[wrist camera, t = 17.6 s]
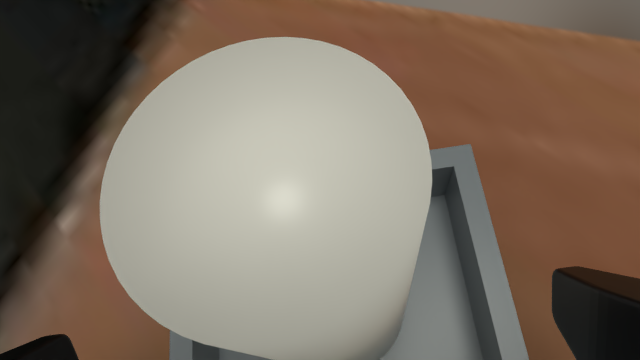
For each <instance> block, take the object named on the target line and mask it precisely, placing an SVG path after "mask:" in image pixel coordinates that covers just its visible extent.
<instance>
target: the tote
mask: <svg viewBox="0 0 640 360" xmlns="http://www.w3.org/2000/svg"><path fill="white" fill-rule="evenodd" d="M429 151H430V156H431V164H432V189H431V199H430V206H429V210H428V214H427V218H426V223H425V227H424V231H423V235H422V240H421V244H420V248H419V253H418V257H417V261H416V265H415V270H414V274H413V278H412V282H411V287H410V291H409V295H408V300H407V304H406V308H405V312H404V317H403V321H402V325H401V329H400V332H399V334H398V337H397V339H396V340H395V342H394V344H393V346H392V347H391V348H390V349H389V351H388V352H387V353H386V354H385V355H384V356H383V357H382V358H381V359H380V360H529V357H528V354H527V350H526V346H525V343H524V339H523V335H522V332H521V328H520V324H519V321H518V317H517V313H516V310H515V306H514V302H513V299H512V295H511V291H510V288H509V284H508V280H507V277H506V273H505V269H504V266H503V262H502V258H501V255H500V251H499V247H498V244H497V240H496V236H495V232H494V229H493V225H492V221H491V218H490V214H489V210H488V207H487V203H486V199H485V196H484V192H483V188H482V185H481V181H480V177H479V174H478V170H477V166H476V163H475V159H474V155H473V152H472V148H471V144H468V145H461V146H455V147H448V148H441V149H435V150H429ZM169 360H272V359H268V358H263V357H259V356H255V355H250V354H246V353H241V352H237V351H232V350H228V349H223V348H219V347H214V346H210V345H206V344H202V343H199V342H197V341H194V340H191V339H188V338H186V337H183V336H181V335H179V334H177V333H175V332H173V331H171V330H170V358H169Z"/></svg>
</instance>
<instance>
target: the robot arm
mask: <svg viewBox="0 0 640 360" xmlns="http://www.w3.org/2000/svg"><path fill="white" fill-rule="evenodd" d="M552 313H553V317H554V320H555V323H556V325H557V327H558V328H559V330H560V332H561V334H562V335H563V337H564V339H565V340H566V342H567V344H568V346H569V347H570V349H571V351H572V353H573V354H574V356H575V358H576V359H577V360H640V279H638V278H633V277H628V276H623V275H619V274H614V273H609V272H604V271H599V270H594V269H589V268H584V267H579V266H578V267H577V266H574V267H566V268H559V269H556V270H555V271H554V272H553V275H552ZM0 360H79V359H78V357H77V354H76V352H75V350H74V347H73V345H72V342H71V340H70V338H69V337H68V336H66V335H64V334H57V335H50V336H44V337H41V338H39V339H36V340H34V341H31V342H29V343H26V344H24V345H22V346H19V347H17V348H14V349H12V350H9V351H7V352H4V353H2V354H0Z"/></svg>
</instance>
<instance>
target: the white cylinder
mask: <svg viewBox="0 0 640 360" xmlns="http://www.w3.org/2000/svg"><path fill="white" fill-rule="evenodd" d="M431 189H432V164H431V156H430V151H429V146H428V140H427V138H426V135H425V132H424V129H423V126H422V123H421V121H420V119H419V117H418V115H417V113H416V111H415V109H414V108H413V106H412V104H411V103H410V101H409V100H408V98H407V97H406V96H405V94H404V93H403V91H402V90H401V89H400V88H399V87H398V86H397V85H396V84H395V83H394V82H393V80H392V79H391V78H390V77H389V76H388V75H387V74H385V73H384V72H383V71H381V70H380V69H379V68H378V67H376V66H375V65H374V64H372V63H371V62H369V61H367V60H366V59H364V58H362V57H361V56H359V55H357V54H355V53H353V52H351V51H348V50H346V49H344V48H341V47H339V46H336V45H332V44H329V43H325V42H322V41H317V40H311V39H305V38H293V37H274V38H262V39H255V40H249V41H244V42H240V43H236V44H233V45H229V46H226V47H223V48H221V49H218V50H215V51H212V52H210V53H208V54H206V55H204V56H202V57H200V58H198V59H196V60H194V61H192V62H190V63H189V64H187V65H185V66H184V67H182V68H181V69H179V70H177V71H176V72H175V73H173V74H172V75H171V76H170V77H168V78H167V79H166V80H164V81H163V82H162V83H161V84H160V85H158V86H157V87H156V88H155V89H154V90H153V91H152V92H151V93H150V94H149V95H148V96H147V97H146V98H145V99H144V101H143V102H142V103H141V104H140V105H139V106H138V108H137V109H136V110H135V111H134V113H133V114H132V115H131V117H130V118H129V120H128V121H127V123H126V124H125V126H124V127H123V129H122V131H121V133H120V135H119V137H118V139H117V140H116V142H115V144H114V147H113V149H112V152H111V154H110V157H109V159H108V162H107V165H106V169H105V173H104V177H103V181H102V188H101V196H100V224H101V231H102V237H103V243H104V246H105V249H106V252H107V256H108V259H109V262H110V264H111V266H112V268H113V270H114V272H115V274H116V276H117V278H118V280H119V281H120V283H121V284H122V286H123V287H124V289H125V290H126V292H127V293H128V294H129V296H130V297H131V298H132V299H133V300H134V301H135V302H136V303H137V304H138V306H139V307H140V308H141V309H142V310H143V311H144V312H145V313H147V314H148V315H149V316H151V317H152V318H153V319H154V320H156V321H157V322H158V323H160V324H161V325H162V326H164V327H166V328H168V329H170V330H171V331H173V332H175V333H177V334H179V335H181V336H183V337H186V338H188V339H191V340H194V341H197V342H199V343H202V344H206V345H210V346H214V347H219V348H223V349H228V350H232V351H237V352H241V353H246V354H250V355H255V356H259V357H263V358H268V359H272V360H380V359H381V358H382V357H383V356H384V355H385V354H386V353H387V352H388V351H389V349H390V348H391V347H392V346H393V344H394V342H395V340H396V339H397V337H398V334H399V332H400V329H401V325H402V321H403V317H404V312H405V308H406V304H407V300H408V295H409V291H410V287H411V282H412V278H413V274H414V270H415V265H416V261H417V257H418V253H419V248H420V244H421V240H422V235H423V231H424V227H425V223H426V218H427V214H428V210H429V206H430V199H431Z"/></svg>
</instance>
